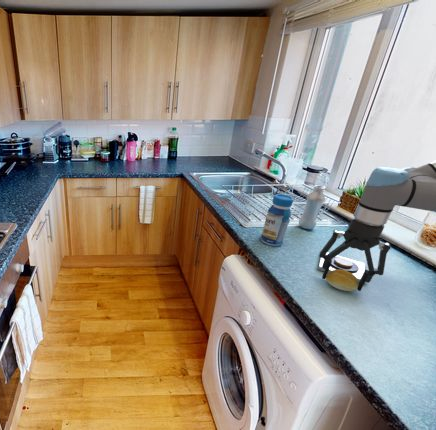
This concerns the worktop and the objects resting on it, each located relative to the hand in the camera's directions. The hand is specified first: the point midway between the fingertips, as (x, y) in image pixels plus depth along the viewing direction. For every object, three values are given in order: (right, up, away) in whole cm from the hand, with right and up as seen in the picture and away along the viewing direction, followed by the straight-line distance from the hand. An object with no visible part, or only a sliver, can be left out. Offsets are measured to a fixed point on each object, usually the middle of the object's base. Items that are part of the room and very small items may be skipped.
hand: (340, 282), depth 93 cm
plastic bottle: (+14, +16, +38) cm, 44 cm away
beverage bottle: (-8, +11, +26) cm, 30 cm away
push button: (+8, +3, +10) cm, 13 cm away
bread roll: (0, 0, 0) cm, 0 cm away
